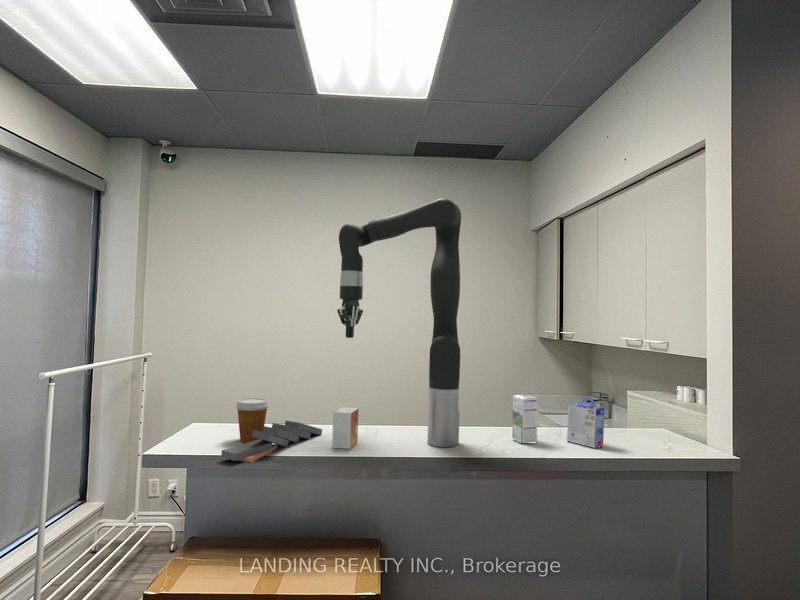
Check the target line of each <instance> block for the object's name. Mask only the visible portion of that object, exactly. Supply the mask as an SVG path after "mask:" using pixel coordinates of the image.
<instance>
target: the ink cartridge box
mask: <svg viewBox="0 0 800 600" xmlns="http://www.w3.org/2000/svg"><path fill="white" fill-rule="evenodd" d="M587 401H590V402H587ZM594 401H595V399H594V398H590V397H587V396H586V397H583V398H582V400H581V403H579V402H578V403H576V402H575V403H570V404H568V405H567V406H568V407H567V408H568V411H567V434H566V442H567V441H571V442H575V443H579V444H584V445H587V446H591V447H599V446H602V445H603V446H604V435H605V434H604V433H605V432H604V430H605V427H604V426H605V407H601V406H594V405H593V404H594ZM571 442H570V443H571ZM575 443H574V444H575ZM579 444H578V445H579ZM599 448H600V447H599Z"/></svg>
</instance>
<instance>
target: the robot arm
mask: <svg viewBox="0 0 800 600" xmlns="http://www.w3.org/2000/svg"><path fill="white" fill-rule="evenodd" d="M461 223H462V212H461V209H460V208H459V207H458V205H457V204H456V203H455V202H454V201H452V200H451V199H449V198H444V197H443V198H439V199H435V200H433V201H431V202H428V203H426V204H423V205H422V206H419V207H416V208H413V209H410V210H407V211H404V212H400V213H396V214H392V215H389V216H388V215H387V216H384V217H381V218H374V219H372V220H370V221H368V223H367V224H363V225H356V224H354V223H346V224H344V225H342V227H341V228H340V230H339V233H338V244H339V245H338V246H339V250H340V251H339V252H340V256H341V265H340V266H341V268H340V269H341V270H340V277H339V299H340V300H342V303H341V308H338V309H337V314H338V317H339V319H340V322H341V324H342V325H344V326H345V338H346V339H347V338H349V339H352V338H353V339H354V337H355V327H356V325H358V324H359V323H360V319H361V318H362V315H363V313H364V310H363V309H361V308H360V301H361V300H363V293H364V292H363V290H364V289H363V287H364V277H363V275H364V274H363V272H364V271H363V268H364V267H363V266H364V263H363V262H364V260H363V256H362V255H361V254H360V247H364V246H368V245H370V244H372V243H375V242H380V241H384V240H388V239H393V238H397V237H399V236H402V235H405V234H407V233H408V232H412V231H414V230H417V229H424V228H434V229H435V251H434V257H433V259H432V263H431V269H430V301H431V308H432V315H433V316H432V317H433V329H432V330H433V331H432V339H431V345H430V348H429V365H428V368H429V369H428V371H429V372H428V382H429V383H428V410H427V411H428V412H427V414H428V415H427V439H426V441H427V442H426V443H427V444H428V445H430V446H432V447H433V446H434V447H438V448H439V447H440V448H452V447H456V446H457V445H458V443H459V441H460V436H459V435H460V411H459V400H460V398H459V397H460V395H459V393H460V376H461V375H460V374H461V372H460V371H461V347H460V343H459V336H458V323H457V322H458V311H459V306H460V298H461V297H460V294H461V265H460V249H459V246H460V245H459V243H460V232H461V226H462V225H461ZM457 442H458V443H457Z"/></svg>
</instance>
